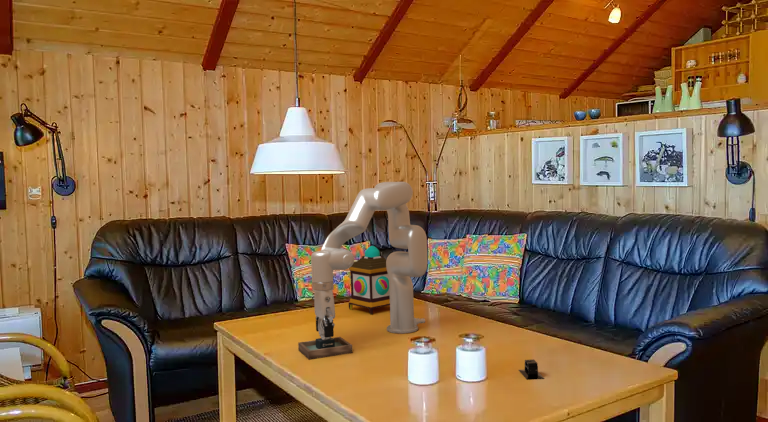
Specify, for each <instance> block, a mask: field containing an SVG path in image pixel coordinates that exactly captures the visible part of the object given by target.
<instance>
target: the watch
mask: <svg viewBox="0 0 768 422" xmlns="http://www.w3.org/2000/svg"><path fill="white" fill-rule="evenodd" d="M326 321H327V320H326ZM335 325H336V324H335V323H334V322H333V330H335V329H334V328H335ZM324 326H325V323H324V320H322V319H321V318H319V320H318V331H317V332H318V336H319V338H315V340H316V348H317V349H323V348H330V347H335V339H333V338H334V337H327V338H325V337H324Z"/></svg>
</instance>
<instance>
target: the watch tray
mask: <svg viewBox="0 0 768 422" xmlns="http://www.w3.org/2000/svg"><path fill="white" fill-rule="evenodd" d="M332 338H333V339H335V347H330V348H323V349H317V348H316V339H314V340H307V341H301V342H298V343H297V346H298V349H297V350H298V351H299V352H300V353H301V354H302V355H303V356H304V357H305V358H306V359H308V360H316V359H322V358H328V357H335V356H341V355H348V354H353V344H351V343H350V342H349V341H347V340H345V339H344V338H342V337H341V336H337V337H332Z"/></svg>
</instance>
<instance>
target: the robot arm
mask: <svg viewBox="0 0 768 422" xmlns="http://www.w3.org/2000/svg"><path fill="white" fill-rule="evenodd" d="M413 193H414V191H413V187H412V186H411V184H410V183H408V182H406V181H383V182H380V183H377V184H376V185H375V186H374V187H367V188H362V189H361V190H360V191H359V192H358V193H357V194H356V198H355V200H354V202H353V203H352V205H351V207H350V209H349V211H348V213H347V216H346V217H345V219H344V221H342V223H341V222H340V224H339V225H338V226H336V228H334V229H333V230H332V231H331V232H330V233H329V234H328V235H327V237H326V239H325V241H324V242H323V245H322V246H321V248H320V250H318V251H313V252H312V253H311V255H310V260H311V261H310V263H311V266H310V267H311V285H312V286H311V288H312V289H311V290H312V292H314V293H313V294H314V296H313V297H314V300H313V301H314V306H313V307H314V314H315V331H316V332H319V331H318V320H319V318H321V319H322V320H324V323H325V326H324V337H325V338H327V337H331V338H334V329H333V323H334V319H335V318H336V307H335V298H334V292H333V291H335V290H334V287H335V285H334V271H345V270H348V269H349V268H350V267H351V266H352V265H353V263H354V262H355V256H354V254H353V253H352V251H350V250H348V249H347V248H346V249H345V248H342V246H343V245H344V244H345V243H346V242H347V241H349V240H350V239H353V238H355V237H357V236H359V235H361V234H362V233H364V232H365V231H366V230H367V228H368V226H369V223H370V221H371V219H372V218H373V216H374V213H375V212H376V211H377V212H378V211H382V212H384V211H386V212H387V213H386V214H387V217H388V218H387V219H388V240H389V244H390V246H392V247H393V248H396V249H406V250H408V251H401V250H400V251H393V252H391V253H390V254H389V255H388V256H387V257H386V259H387V260H386V268H387V272H388V277H389V291H390V305H389V317H390V318H389V319H390V323H389V325H387V327H386V331H387V332H389V333H392V334H410V333H414V332H416V331H418V330H419V326H418V325H419V324H425V323H426V319H425V318H424V317H423V318H422V317H421V318H419V317H417V318H416V317H415V313H414V312H415V308H414V307H415V305H414V284H413V281H412V278H421V277H422V276H424V275H425V274H426V272H427V270H428V239H427V238H428V237H427V234H426V231H425V230H424V229H423V227H421V226H420V225H416V224H411V221H410V219H411V217H410V211H409V207H408V205H407V204H408V203H409V202H410V201H411V200H412V197H413ZM326 320H327V321H326Z"/></svg>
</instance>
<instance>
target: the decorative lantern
mask: <svg viewBox="0 0 768 422" xmlns="http://www.w3.org/2000/svg"><path fill="white" fill-rule="evenodd" d="M383 256H384V255H381V254H380V249H378V248H377V247H376V246H374V245H371V246H369V247H367V249H366V250H365V252H364V255H362V256H361V257H360V258H359V259H357V261H354V263H353V265H352V266H351V267H350V268H349V272H350V299H349V301H348V309H349V310H353V306H357V307H360V308H364V309H365V308H366V309H368V310H369V315H370V316H373V313H374V310H375V309H378V308H382V307H388V306H390V291H389V277H388V272H387V268H386V260H387V258H385V257H383Z"/></svg>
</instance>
